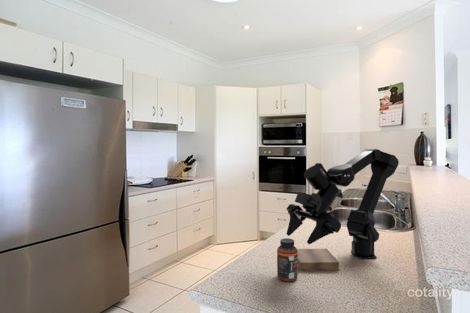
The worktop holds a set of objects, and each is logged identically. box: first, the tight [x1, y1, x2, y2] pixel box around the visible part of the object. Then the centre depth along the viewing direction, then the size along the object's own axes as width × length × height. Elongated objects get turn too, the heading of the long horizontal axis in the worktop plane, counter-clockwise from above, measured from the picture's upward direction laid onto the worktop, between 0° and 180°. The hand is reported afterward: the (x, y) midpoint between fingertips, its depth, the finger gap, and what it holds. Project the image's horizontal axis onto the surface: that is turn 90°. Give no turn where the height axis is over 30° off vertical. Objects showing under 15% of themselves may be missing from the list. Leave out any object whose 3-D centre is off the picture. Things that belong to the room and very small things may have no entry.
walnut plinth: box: [297, 248, 340, 271], centre depth 95 cm, size 12×12×2 cm
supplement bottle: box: [276, 237, 299, 283], centre depth 84 cm, size 6×6×11 cm
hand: (297, 239), depth 85 cm, fingers open, 9 cm apart
